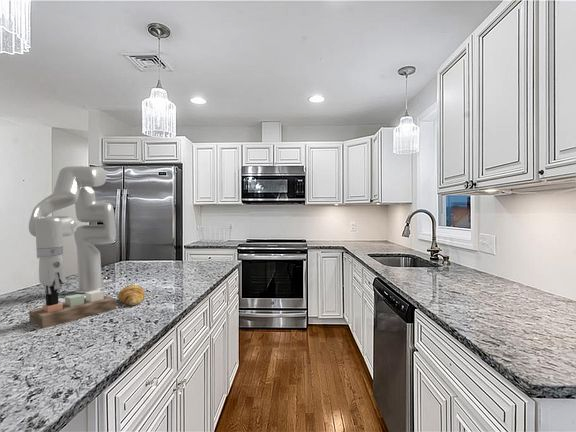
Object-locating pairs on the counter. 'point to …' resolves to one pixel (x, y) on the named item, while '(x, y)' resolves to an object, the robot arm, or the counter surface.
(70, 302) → the sage key
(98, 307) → the wooden compartment tray
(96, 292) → the cream cube
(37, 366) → the counter surface
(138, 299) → the croissant
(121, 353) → the counter surface
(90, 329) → the counter surface
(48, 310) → the terracotta key
